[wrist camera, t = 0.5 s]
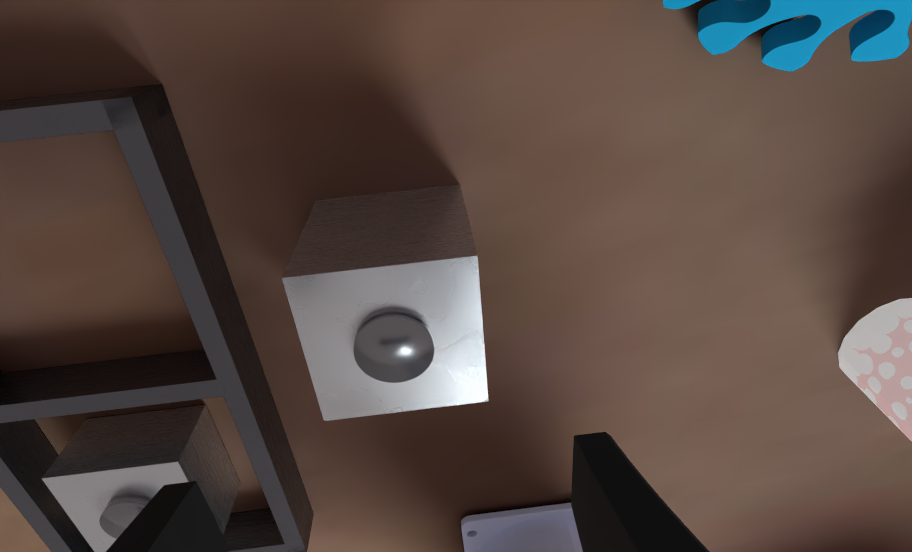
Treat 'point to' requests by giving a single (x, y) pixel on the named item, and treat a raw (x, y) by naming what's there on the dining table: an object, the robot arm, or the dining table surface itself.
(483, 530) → the robot arm
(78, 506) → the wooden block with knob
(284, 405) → the dining table surface
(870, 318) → the beverage cup
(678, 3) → the gear
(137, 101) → the grey flat rectangular frame
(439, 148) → the dining table surface
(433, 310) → the grey square block
